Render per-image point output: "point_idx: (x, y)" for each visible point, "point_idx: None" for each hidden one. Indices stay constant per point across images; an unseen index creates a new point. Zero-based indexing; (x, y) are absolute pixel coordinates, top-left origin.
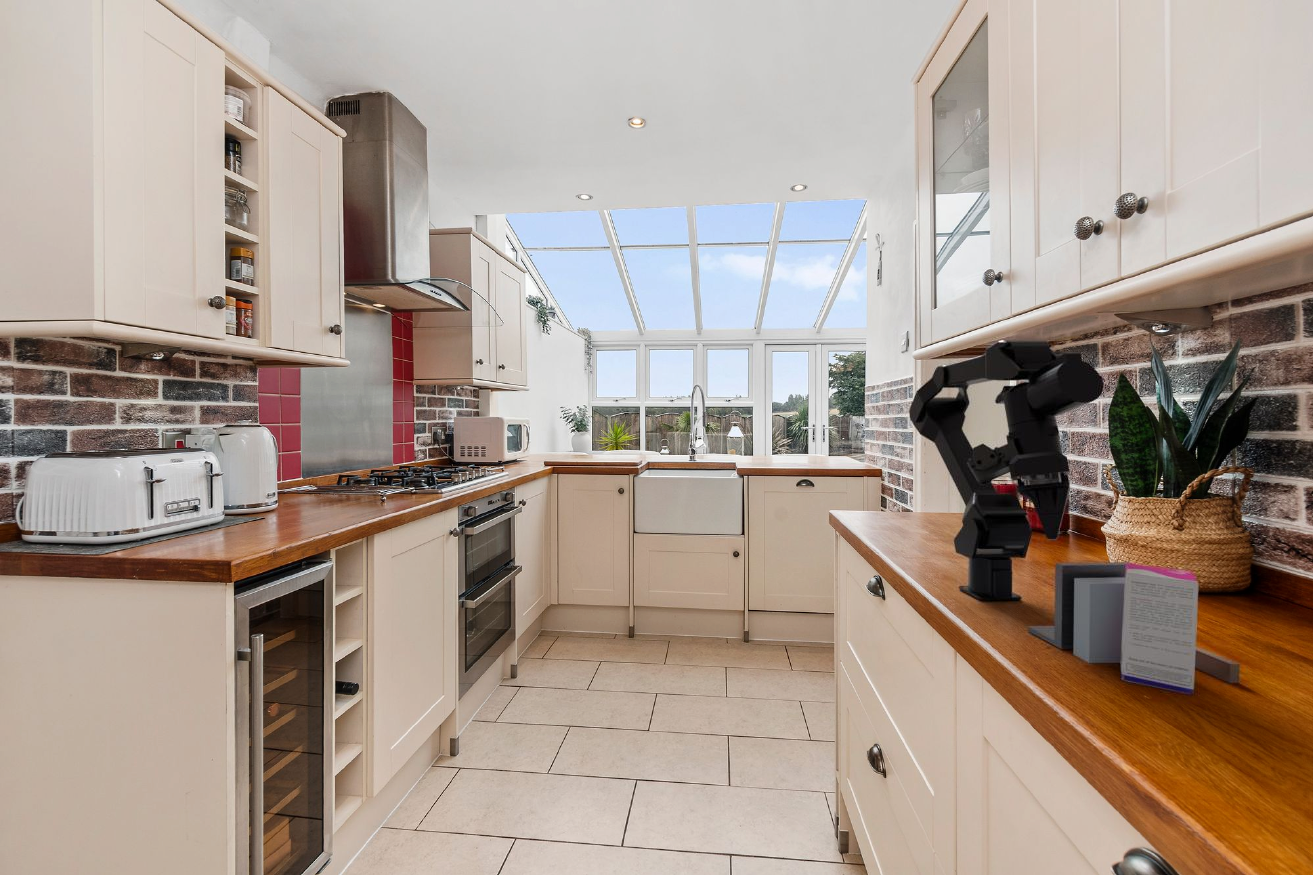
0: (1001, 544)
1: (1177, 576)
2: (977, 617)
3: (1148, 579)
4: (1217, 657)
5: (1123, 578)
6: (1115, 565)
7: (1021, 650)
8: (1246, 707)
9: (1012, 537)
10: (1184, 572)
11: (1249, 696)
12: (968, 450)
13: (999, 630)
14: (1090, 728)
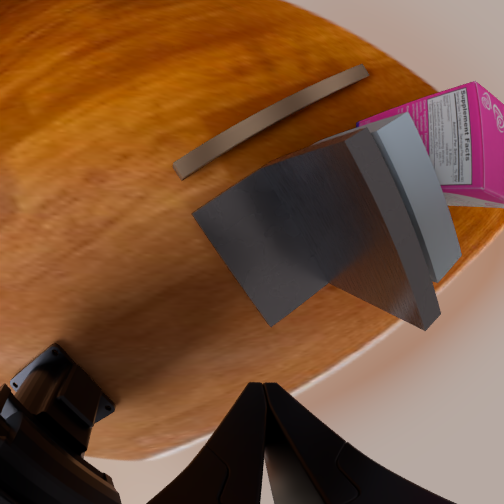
0: (81, 465)
1: None
2: (226, 397)
3: None
4: (352, 78)
5: (406, 179)
6: (395, 189)
7: (358, 317)
8: (409, 101)
9: (63, 462)
10: (491, 103)
11: (381, 82)
12: None
13: (282, 359)
14: (481, 245)
